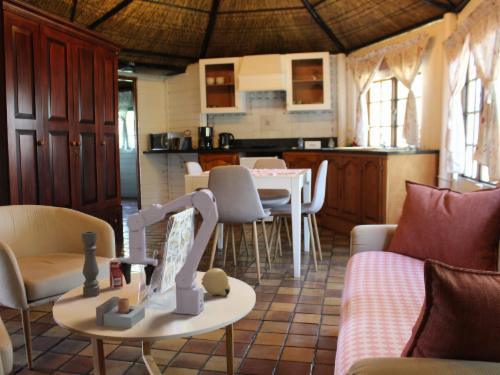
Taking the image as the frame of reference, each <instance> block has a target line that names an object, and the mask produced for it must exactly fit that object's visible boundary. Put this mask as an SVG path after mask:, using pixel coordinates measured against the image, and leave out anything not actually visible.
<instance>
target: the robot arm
mask: <svg viewBox="0 0 500 375" xmlns="http://www.w3.org/2000/svg"><path fill="white" fill-rule="evenodd" d="M184 207H188V208H193V207H194V208H195V209H196V210H198V211H199V213H200V215H201V218H202V219H203V220H202V222H201V224H200V227H199V229H198V232H197V234H196V236H195V239H194V241H193V244H192V246H191V248H190V251H189V252H188V254H187V257H186V260H185V261H184V263H183V265H182V267H181V268H180V269H179V271H178V272H177V273H176V274H175V277H174V283H175V308H174V309H173V311H172V312H171V313H172V314H181V315H193V316H198V315H199V314H200V313H201V312H202V311H203V309H205V306H204V304H205V303H204V301H205V300H204V287H201V286H198V285H197V283H196V281H195V279H196V277H197V273H198V272H197V269H198V266H199V263H200V262H201V258H202V256H203V254H204V253H205V250H206V248H207V245H208V243H209V241H210V238H211V236H212V234H213V232H214V229H215V227H216V225H217V223H218V220H219V212H218V206H217V199H216V196H215V195H214V193H213V192H212V190H210V189H208V188H203V189H200V190H199V191H198V190H197V191H196V190H195V191H193V192H190V193H186V194H184V195H182V196H180V197H178V198H175V199H173V200H171V201H169V202H167V203H165V204H163V205H161V204H159V203H156V204H155V203H152V204H150V205H149V207H146V208H145V209H138V211H137V212H136V213H133V214H131V215H130V216H128V217H127V219H126V227H127V228H128V250H129V252H128V254H129V257H122V256H121V257H117V258H118V264H121V265H120V266H119V268H120V270H121V271H122V273H123V279H124V280H125V284H126V285H130V284H131V282H132V280H131V279H132V275H131V272H132V265H136V266H137V265H139V266H144V267H143V269H144V274H145V275H144V276H145V286H147V287H149V286H150V285H151V283H152V282H151V281H152V278H153V274H154V272H155V269H156V267H157V266H158V265H159V264H158V262H159V260H158V259H155V258H149V257H147V253H146V250H147V249H146V226H150V225H152V224H155V223H157V222H160V221H162V220H164V219H165V217H166V214H169V213H170V212H173V211H176V210H178V209H180V208H184Z"/></svg>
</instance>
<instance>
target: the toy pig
mask: <svg viewBox="0 0 500 375" xmlns="http://www.w3.org/2000/svg"><path fill="white" fill-rule="evenodd" d="M200 284H201V286H203V289H204V290H205V291H206V292H207V293H206V295H207V296H208V297H210V296H221V297H222V296H223V297H224V296H227V295H230V291H231V285H230V284H229V277H228V275H227V273H226V272H225V271H224V270H223V269H221V268H218V267H213V268H210V269H209V270H207V271H206V272H205V273H204V274H203V276H202V278H201V283H200Z"/></svg>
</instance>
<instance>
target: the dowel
mask: <svg viewBox="0 0 500 375" xmlns="http://www.w3.org/2000/svg"><path fill="white" fill-rule="evenodd" d="M129 300H130V299H129V298H125V297H123V298H119V300H118V313H119V314H129V306H130V304H129V302H130V301H129Z"/></svg>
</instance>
